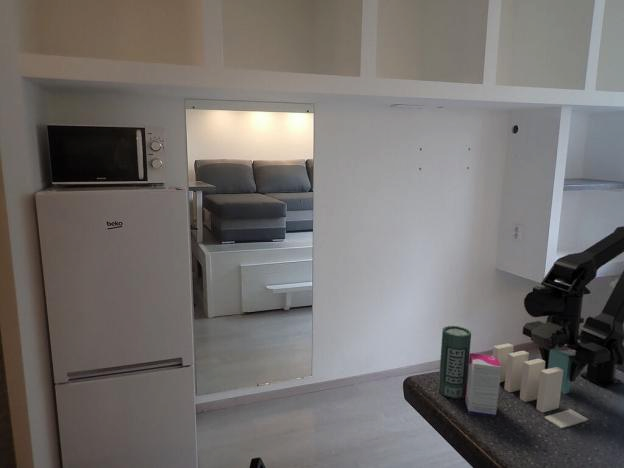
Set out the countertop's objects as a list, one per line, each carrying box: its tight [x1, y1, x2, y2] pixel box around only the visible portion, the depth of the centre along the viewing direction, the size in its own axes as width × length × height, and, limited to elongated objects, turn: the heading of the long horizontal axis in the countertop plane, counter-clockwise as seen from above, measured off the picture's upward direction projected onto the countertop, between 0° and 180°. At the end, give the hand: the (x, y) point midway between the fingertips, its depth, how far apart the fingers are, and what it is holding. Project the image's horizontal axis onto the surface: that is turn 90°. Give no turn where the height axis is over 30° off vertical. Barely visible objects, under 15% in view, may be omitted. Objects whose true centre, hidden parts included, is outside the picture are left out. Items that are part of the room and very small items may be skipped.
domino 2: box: [504, 350, 530, 393], centre depth 106 cm, size 2×5×9 cm, turn 113°
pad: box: [544, 408, 589, 430], centre depth 94 cm, size 8×4×1 cm, turn 113°
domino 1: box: [491, 343, 515, 383], centre depth 110 cm, size 2×5×9 cm, turn 113°
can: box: [438, 325, 472, 400], centre depth 104 cm, size 6×6×15 cm
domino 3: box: [519, 358, 546, 403], centre depth 102 cm, size 2×5×9 cm, turn 113°
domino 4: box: [535, 367, 563, 413], centre depth 98 cm, size 2×5×9 cm, turn 113°
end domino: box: [548, 347, 572, 395], centre depth 107 cm, size 2×5×9 cm, turn 23°
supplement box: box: [464, 352, 501, 418], centre depth 97 cm, size 6×6×12 cm
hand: (559, 374), depth 107 cm, fingers open, 6 cm apart
